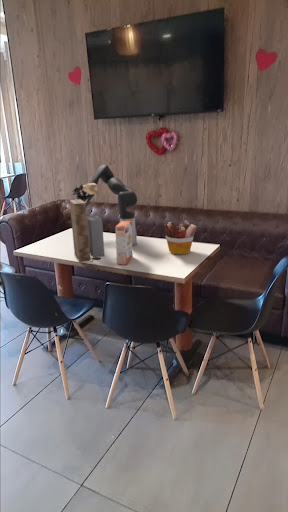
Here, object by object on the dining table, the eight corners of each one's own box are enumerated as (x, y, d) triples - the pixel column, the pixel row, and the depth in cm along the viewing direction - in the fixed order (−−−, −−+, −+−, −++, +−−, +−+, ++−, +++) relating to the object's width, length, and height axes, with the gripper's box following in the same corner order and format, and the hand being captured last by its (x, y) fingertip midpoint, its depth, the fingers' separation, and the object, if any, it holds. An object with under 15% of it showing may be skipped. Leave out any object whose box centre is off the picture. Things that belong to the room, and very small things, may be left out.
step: (99, 250, 218) (96, 215, 212) (104, 256, 208) (102, 219, 201) (88, 252, 216) (85, 216, 210) (93, 257, 206) (90, 220, 199)
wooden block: (84, 253, 214) (80, 199, 204) (90, 260, 201) (85, 202, 191) (74, 255, 212) (69, 200, 202) (79, 261, 199) (74, 203, 189)
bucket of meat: (175, 246, 222) (174, 214, 216) (199, 250, 214) (200, 216, 207) (158, 255, 206) (157, 220, 200) (184, 259, 198) (184, 223, 192)
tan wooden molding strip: (87, 188, 217) (87, 180, 215) (97, 193, 195) (97, 184, 194) (81, 189, 215) (80, 180, 214) (90, 194, 194) (89, 185, 193)
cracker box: (127, 265, 192) (125, 226, 185) (116, 264, 193) (114, 226, 187) (133, 256, 205) (132, 220, 198) (123, 256, 206) (121, 220, 200)
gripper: (94, 201, 228) (99, 190, 212) (71, 203, 223) (75, 192, 207) (92, 190, 229) (96, 178, 213) (69, 192, 225) (72, 180, 209)
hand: (86, 185), depth 211 cm, fingers closed on tan wooden molding strip, 4 cm apart
